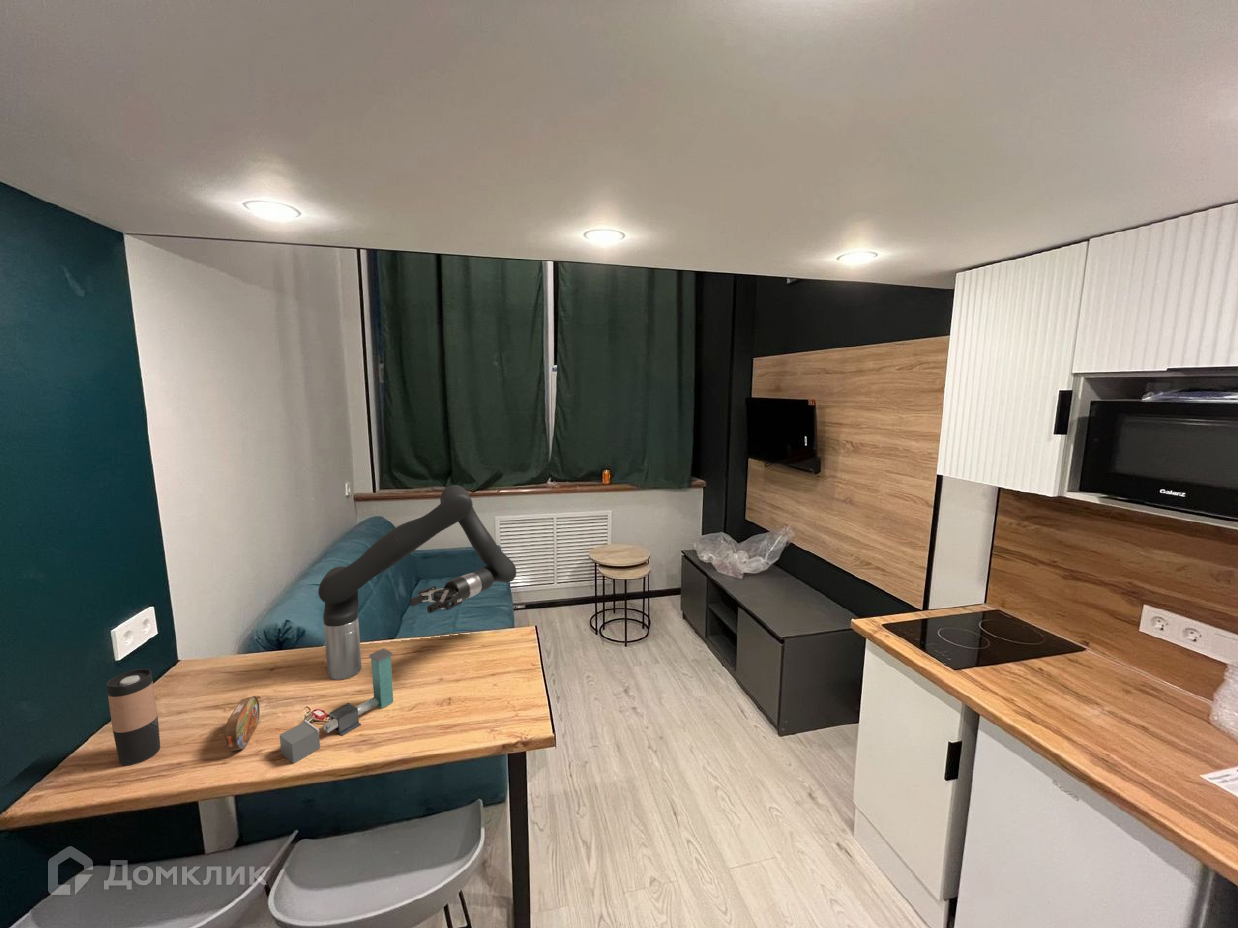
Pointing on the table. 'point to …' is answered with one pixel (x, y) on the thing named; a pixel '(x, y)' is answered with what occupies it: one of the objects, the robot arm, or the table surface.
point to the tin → (242, 723)
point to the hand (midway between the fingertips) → (419, 606)
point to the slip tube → (374, 686)
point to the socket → (299, 741)
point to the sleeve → (345, 718)
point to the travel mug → (134, 716)
